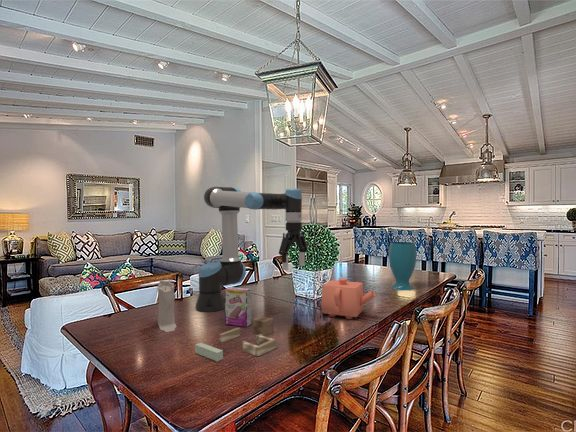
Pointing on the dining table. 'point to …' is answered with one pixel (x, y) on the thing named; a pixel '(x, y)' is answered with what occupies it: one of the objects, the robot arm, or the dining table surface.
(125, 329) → the dining table surface
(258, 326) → the block
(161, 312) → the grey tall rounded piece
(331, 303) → the teapot
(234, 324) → the candy bar box
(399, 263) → the vase
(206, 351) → the bar
